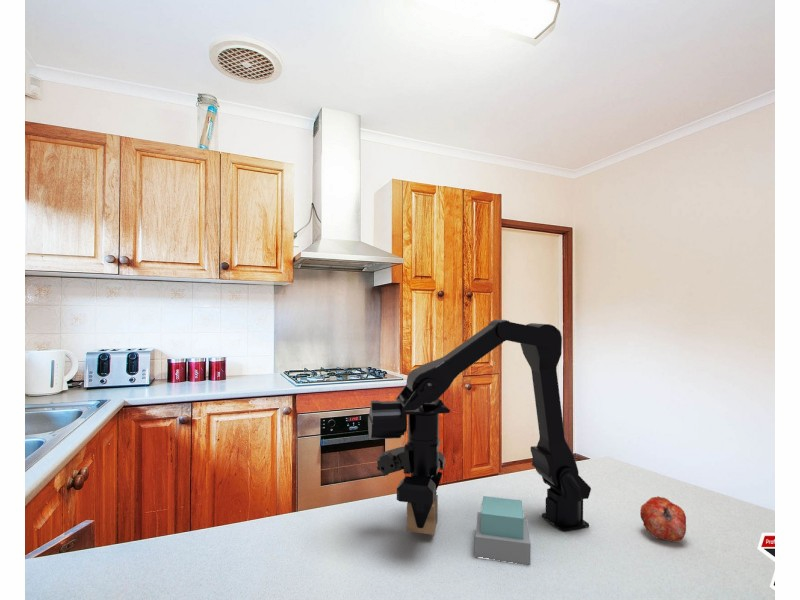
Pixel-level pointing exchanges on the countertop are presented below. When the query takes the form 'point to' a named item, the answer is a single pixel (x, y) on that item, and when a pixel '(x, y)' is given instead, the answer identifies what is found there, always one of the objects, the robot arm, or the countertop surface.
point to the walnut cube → (430, 521)
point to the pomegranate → (663, 519)
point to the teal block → (502, 517)
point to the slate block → (503, 546)
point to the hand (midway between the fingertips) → (422, 520)
